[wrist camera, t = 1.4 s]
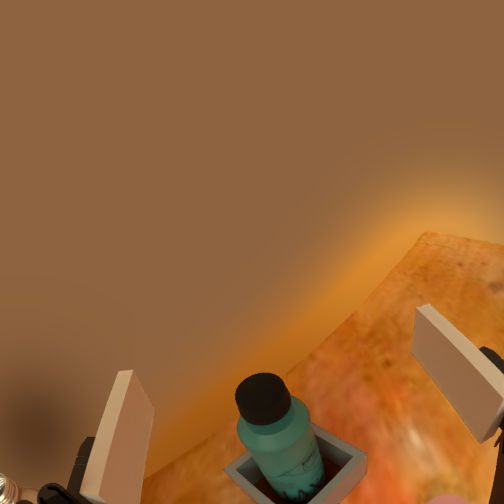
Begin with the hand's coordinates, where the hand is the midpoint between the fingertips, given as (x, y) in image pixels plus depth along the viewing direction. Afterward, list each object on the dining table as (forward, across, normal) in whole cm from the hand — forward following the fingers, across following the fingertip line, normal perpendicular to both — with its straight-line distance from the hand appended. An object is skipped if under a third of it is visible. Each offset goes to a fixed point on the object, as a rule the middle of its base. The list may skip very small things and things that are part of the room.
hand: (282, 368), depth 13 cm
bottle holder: (+8, 0, -27) cm, 28 cm away
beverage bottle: (+8, 0, -27) cm, 28 cm away
